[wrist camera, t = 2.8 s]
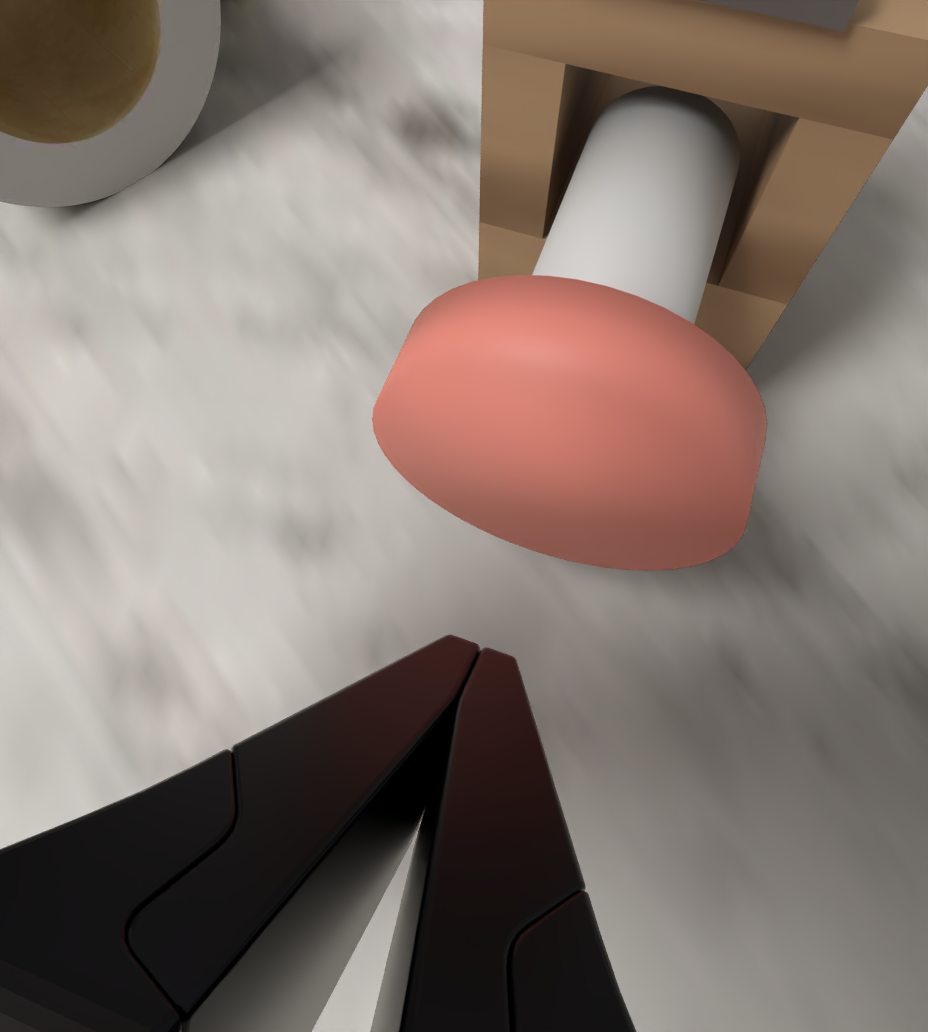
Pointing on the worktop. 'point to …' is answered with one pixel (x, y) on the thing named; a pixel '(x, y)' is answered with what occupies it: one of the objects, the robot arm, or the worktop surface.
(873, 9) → the catch block
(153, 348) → the worktop surface
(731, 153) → the knob
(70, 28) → the toilet paper
